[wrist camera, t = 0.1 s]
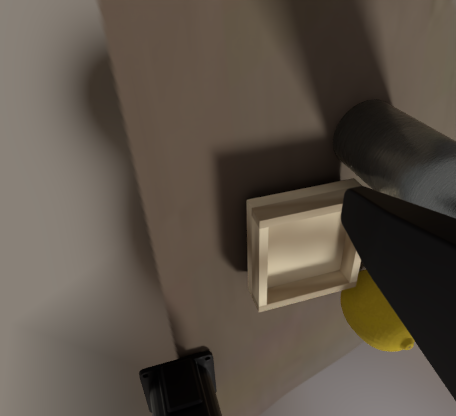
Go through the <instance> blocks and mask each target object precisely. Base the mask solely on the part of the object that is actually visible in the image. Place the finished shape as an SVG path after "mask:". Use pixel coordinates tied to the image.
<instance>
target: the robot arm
mask: <svg viewBox="0 0 456 416" xmlns="http://www.w3.org/2000/svg"><path fill="white" fill-rule="evenodd" d="M341 222H342V225H343V227H344V229H345V231H346V233H347V234H348V236H349V238H350V240H351V242H352V244H353V246H354V248H355V249H356V251H357V253H358V255H359V257H360V259H361V261H362V263H363V264H364V266H365V268H366V270H367V271H368V273H369V275H370V276H371V278H372V279H373V281H374V282H375V284H376V285H377V287H378V288H379V290H380V291H381V292H382V294H383V295H384V297H385V298H386V300H387V301H388V303H389V304H390V306H391V307H392V309H393V310H394V311H395V313H396V314H397V316H398V317H399V319H400V320H401V322H402V323H403V325H404V326H405V328H406V329H407V330H408V332H409V333H410V335H411V336H412V338H413V339H414V341H415V342H416V344H417V345H418V347H419V348H420V349H421V351H422V352H423V354H424V355H425V357H426V358H427V360H428V361H429V362H430V364H431V365H432V367H433V368H434V370H435V371H436V373H437V374H438V376H439V377H440V379H441V380H442V382H443V383H444V384H445V386H446V387H447V389H448V390H449V392H450V393H451V395H452V396H453V397H454V399H455V401H456V218H454V217H451V216H448V215H445V214H442V213H439V212H436V211H433V210H431V209H428V208H425V207H422V206H419V205H416V204H413V203H410V202H407V201H405V200H402V199H399V198H396V197H393V196H390V195H387V194H384V193H382V192H379V191H376V190H373V189H370V188H367V187H364V186H358V187H353V188H349V189H347V190H346V191H345V193H344V198H343V204H342V210H341ZM139 375H140V380H141V383H142V387H143V390H144V394H145V397H146V400H147V404H148V407H149V410H150V412H151V413H152V416H222V414H221V411H220V407H219V404H218V400H217V397H216V382H215V372H214V362H213V356H212V353H211V352H210V351H206V352H202V353H199V354H195V355H191V356H188V357H184V358H181V359H177V360H174V361H170V362H166V363H163V364H159V365H156V366H152V367H148V368H145V369H142V370H141V371H140V372H139Z"/></svg>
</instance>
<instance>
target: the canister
mask: <svg viewBox="0 0 456 416" xmlns="http://www.w3.org/2000/svg"><path fill="white" fill-rule="evenodd" d="M333 147H334V151H335V154H336V156H337V157H338V158H339V159H340V160H341V161H342V162H343V163H344V164H345V165H346V166H347V167H349V168H350V169H351V170H352V171H353V172H354V173H355V174H356V175H358V176H359V177H360V178H361V179H362V180H363V181H364V182H365V183H367V184H368V185H369V186H370V187H371V188H372V189H373V190H376V191H379V192H382V193H384V194H387V195H390V196H393V197H396V198H399V199H402V200H405V201H407V202H410V203H413V204H416V205H419V206H422V207H425V208H428V209H431V210H433V211H436V212H439V213H442V214H445V215H448V216H451V217H454V218H456V141H454V140H453V139H451V138H449V137H447V136H445V135H444V134H442V133H440V132H438V131H436V130H435V129H433V128H431V127H429V126H427V125H426V124H424V123H422V122H420V121H418V120H417V119H415V118H413V117H411V116H409V115H408V114H406V113H404V112H402V111H400V110H399V109H397V108H395V107H393V106H391V105H390V104H388V103H386V102H384V101H381V100H368V101H365V102H362V103H360V104H358V105H356V106H355V107H353V108H352V109H351V110H350V111H349V112H347V113H346V115H345V116H344V117H343V118H342V120H341V121H340V123H339V124H338V126H337V128H336V131H335V134H334V139H333Z"/></svg>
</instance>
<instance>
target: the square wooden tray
mask: <svg viewBox="0 0 456 416" xmlns="http://www.w3.org/2000/svg"><path fill="white" fill-rule="evenodd" d="M358 186H362V185H361V184H360V183H359V182H357V181H356V180H355V179H354V178H353V179H348V180H342V181H337V182H333V183H328V184H323V185H318V186H313V187H308V188H303V189H298V190H293V191H288V192H283V193H278V194H273V195H268V196H263V197H257V198H252V199H248V200H247V202H246V209H247V261H248V265H247V271H248V290H249V292H250V294H251V296H252V298H253V301H254V303H255V305H256V307H257V309H258V311H259V312H262V311H266V310H270V309H273V308H277V307H281V306H285V305H288V304H292V303H296V302H300V301H304V300H307V299H311V298H315V297H319V296H322V295H326V294H330V293H334V292H338V291H341V290H345V289H349V288H353V287H356V283H357V278H358V273H359V268H360V263H361V259H360V257H359V255H358V253H357V251H356V249H355V248H354V246H353V244H352V242H351V240H350V238H349V236H348V234H347V233H346V231H345V229H344V227H343V225H342V222H341V210H342V204H343V198H344V193H345V191H346V190H347V189H349V188H353V187H358Z"/></svg>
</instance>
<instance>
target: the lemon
mask: <svg viewBox="0 0 456 416" xmlns="http://www.w3.org/2000/svg"><path fill="white" fill-rule="evenodd" d="M341 307H342V310H343V314H344V316H345V318H346V320H347V322H348V323H349V325H350V326H351V328H352V329H353V330H354V331H355V332H356V333H357V335H358V336H359V337H360V338H361V339H363V340H364V341H365V342H366V343H367V344H369V345H370V346H372V347H374V348H377V349H379V350H382V351H391V352H392V351H400V350H403V349H405V350H409V349H411V348H412V347H413V345H414V342H415V341H414V339H413V338H412V336H411V335H410V333H409V332H408V330H407V329H406V328H405V326H404V325H403V323H402V322H401V320H400V319H399V317H398V316H397V314H396V313H395V311H394V310H393V309H392V307H391V306H390V304H389V303H388V301H387V300H386V298H385V297H384V295H383V294H382V292H381V291H380V290H379V288H378V287H377V285H376V284H375V282H374V281H373V279H372V278H371V276H370V275H369V273H368V271H367V270H362V271H359V273H358V278H357V283H356V287H353V288H349V289H345V290H342V292H341Z"/></svg>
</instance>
